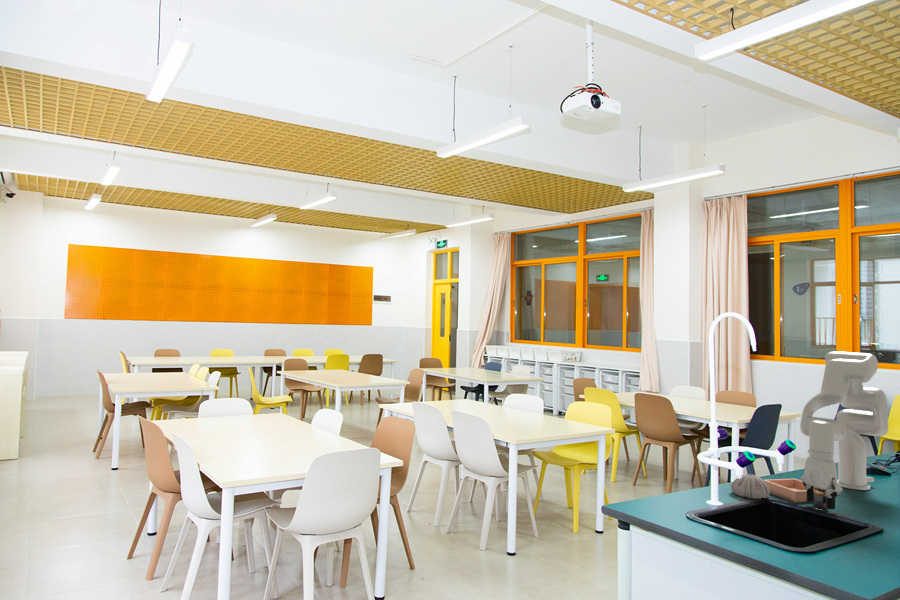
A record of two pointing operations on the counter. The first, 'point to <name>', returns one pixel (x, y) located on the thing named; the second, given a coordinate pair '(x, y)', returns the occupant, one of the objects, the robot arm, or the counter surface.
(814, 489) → the battery cell
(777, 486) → the tray
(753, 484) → the sea urchin shell
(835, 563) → the counter surface
